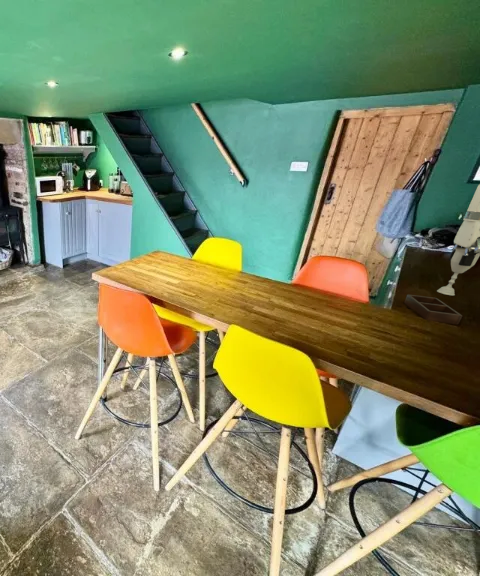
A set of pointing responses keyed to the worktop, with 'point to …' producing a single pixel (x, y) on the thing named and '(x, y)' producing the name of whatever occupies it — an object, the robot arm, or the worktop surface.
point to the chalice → (456, 270)
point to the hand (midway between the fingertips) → (459, 262)
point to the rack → (432, 309)
